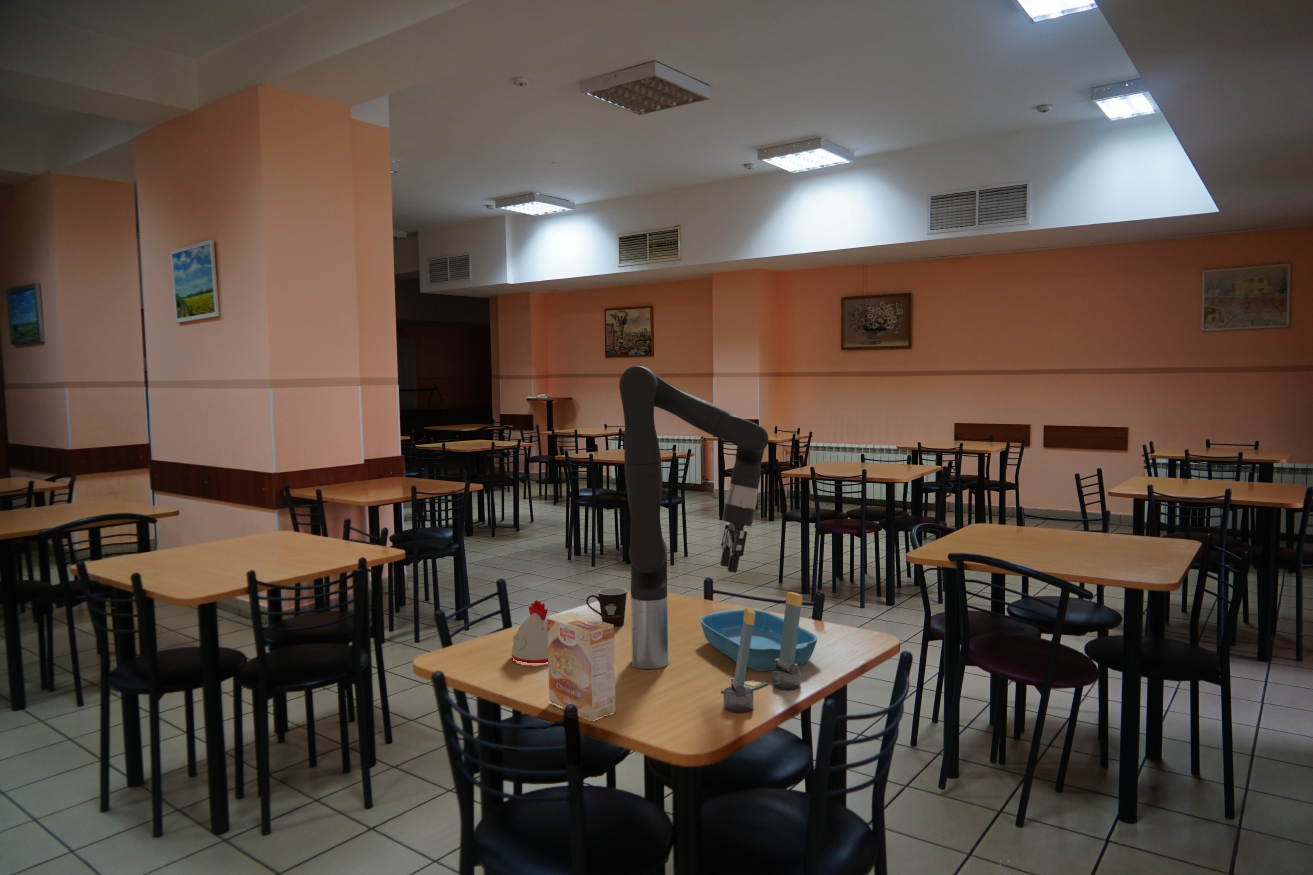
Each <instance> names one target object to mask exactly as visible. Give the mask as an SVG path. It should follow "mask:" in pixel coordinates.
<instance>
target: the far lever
mask: <svg viewBox="0 0 1313 875" xmlns="http://www.w3.org/2000/svg"><path fill="white" fill-rule="evenodd" d="M803 597H804V596H803V595H802V594H799V593H797V592H792V591H786V596H785V609H784V617H783V619H784V624H783V632H782V641H781V649H780V657H779V660H778V662H777V665H778V666H779V667H781V668H783V669H786V670H788V671H790V665H794V661H795V653H796V644H797V636H798V627H800V625H799V624H800V617H801V609H802V606H803V605H802V604H803Z"/></svg>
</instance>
